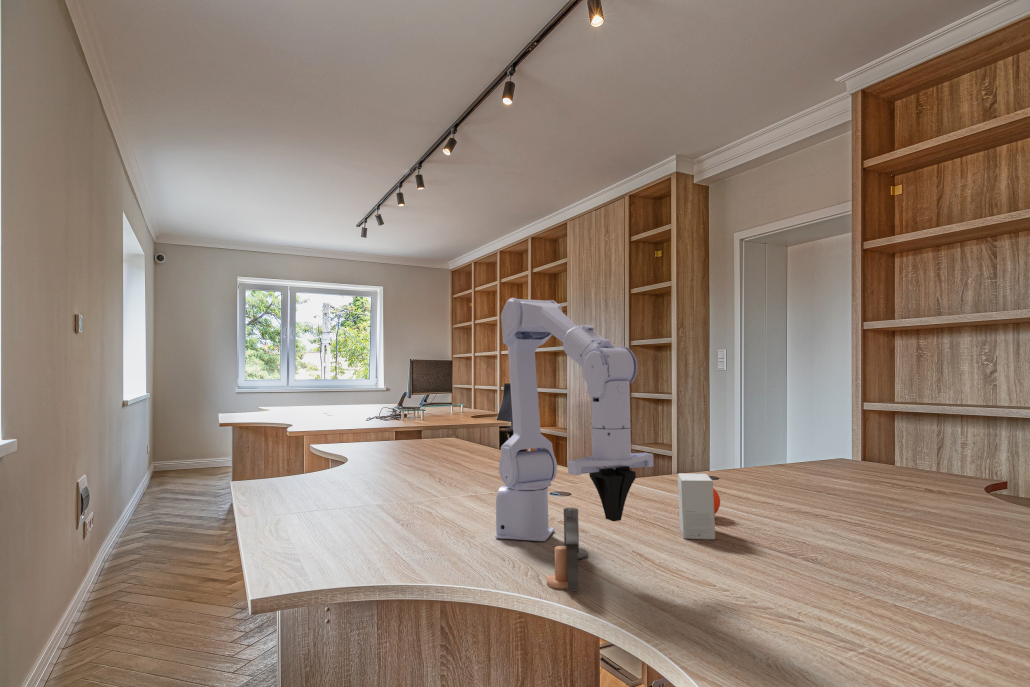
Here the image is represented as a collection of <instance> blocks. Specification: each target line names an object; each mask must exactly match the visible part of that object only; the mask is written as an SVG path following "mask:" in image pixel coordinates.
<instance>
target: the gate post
mask: <svg viewBox="0 0 1030 687" xmlns="http://www.w3.org/2000/svg"><path fill="white" fill-rule="evenodd" d="M566 517H576V523H577V537H578V550H577V556H578V561H580V560H584V559H586V558H587V557H588V550H586V549H585V548H582V547H580V537H579V536H580V535H579V534H580V532H579V531H580V530H579V526H580V525H579V508H577V507H565V508H563V544H564V545H563V546H566Z"/></svg>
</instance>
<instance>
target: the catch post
mask: <svg viewBox="0 0 1030 687" xmlns="http://www.w3.org/2000/svg"><path fill="white" fill-rule="evenodd" d="M546 585H547V586H548V587H549V588H552V589H556V590H568V572H567V550H566V546H564V545H558V546H557V545H556V546H555V547H554V574H552V575H549V576H547V577H546Z"/></svg>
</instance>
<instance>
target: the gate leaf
mask: <svg viewBox="0 0 1030 687" xmlns="http://www.w3.org/2000/svg"><path fill="white" fill-rule="evenodd" d="M566 550H567V572H568V589H567V591H568V592H570V591H571V592H573V591H574V592H578V591H579V566H578V562H579V560H578V556H577V550H578V537H577V523H576V517H566Z"/></svg>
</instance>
